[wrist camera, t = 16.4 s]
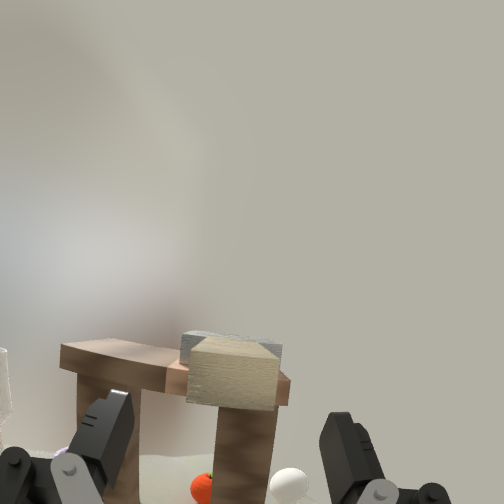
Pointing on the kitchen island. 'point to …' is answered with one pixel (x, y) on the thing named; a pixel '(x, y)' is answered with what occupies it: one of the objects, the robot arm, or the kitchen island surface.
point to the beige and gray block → (231, 370)
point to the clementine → (202, 488)
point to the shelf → (148, 374)
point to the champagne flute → (4, 392)
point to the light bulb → (289, 486)
